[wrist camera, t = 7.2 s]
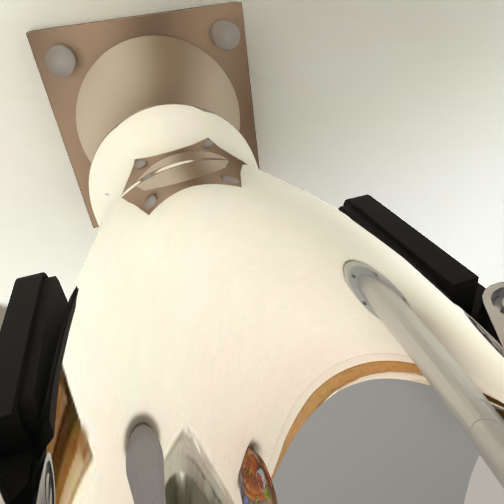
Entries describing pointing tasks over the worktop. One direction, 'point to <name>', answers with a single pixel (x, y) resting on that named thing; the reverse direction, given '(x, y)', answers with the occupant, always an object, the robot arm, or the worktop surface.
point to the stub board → (143, 74)
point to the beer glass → (255, 345)
